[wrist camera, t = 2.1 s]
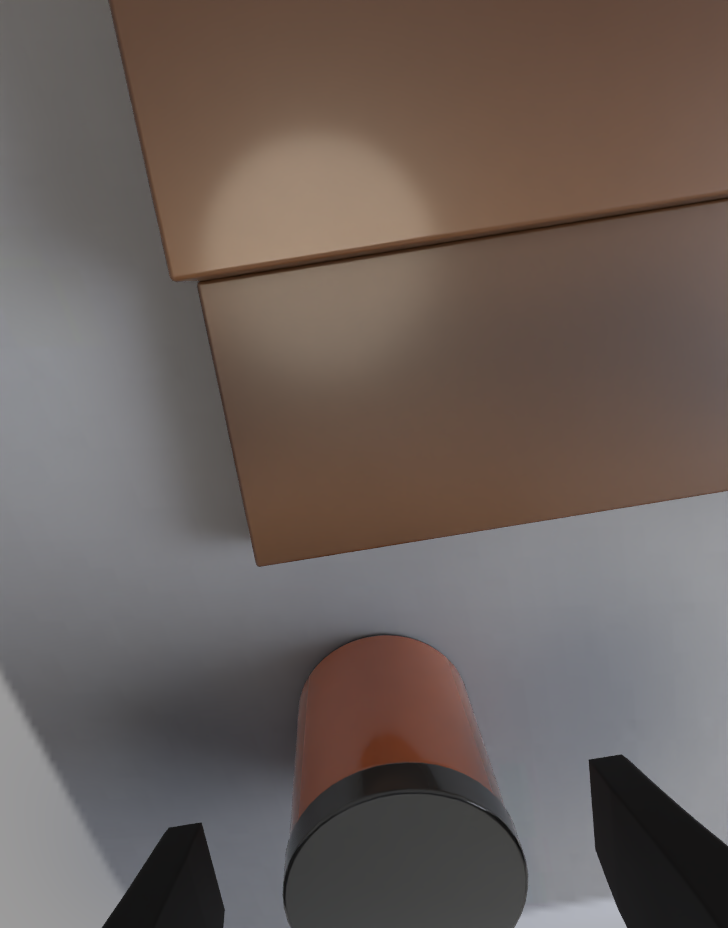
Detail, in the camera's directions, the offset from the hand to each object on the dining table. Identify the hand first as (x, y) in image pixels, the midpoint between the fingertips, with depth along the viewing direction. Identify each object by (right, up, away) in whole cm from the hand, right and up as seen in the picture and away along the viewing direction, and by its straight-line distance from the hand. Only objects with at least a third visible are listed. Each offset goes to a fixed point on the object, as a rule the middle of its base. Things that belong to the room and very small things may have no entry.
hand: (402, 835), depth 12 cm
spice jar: (0, +1, +4) cm, 4 cm away
